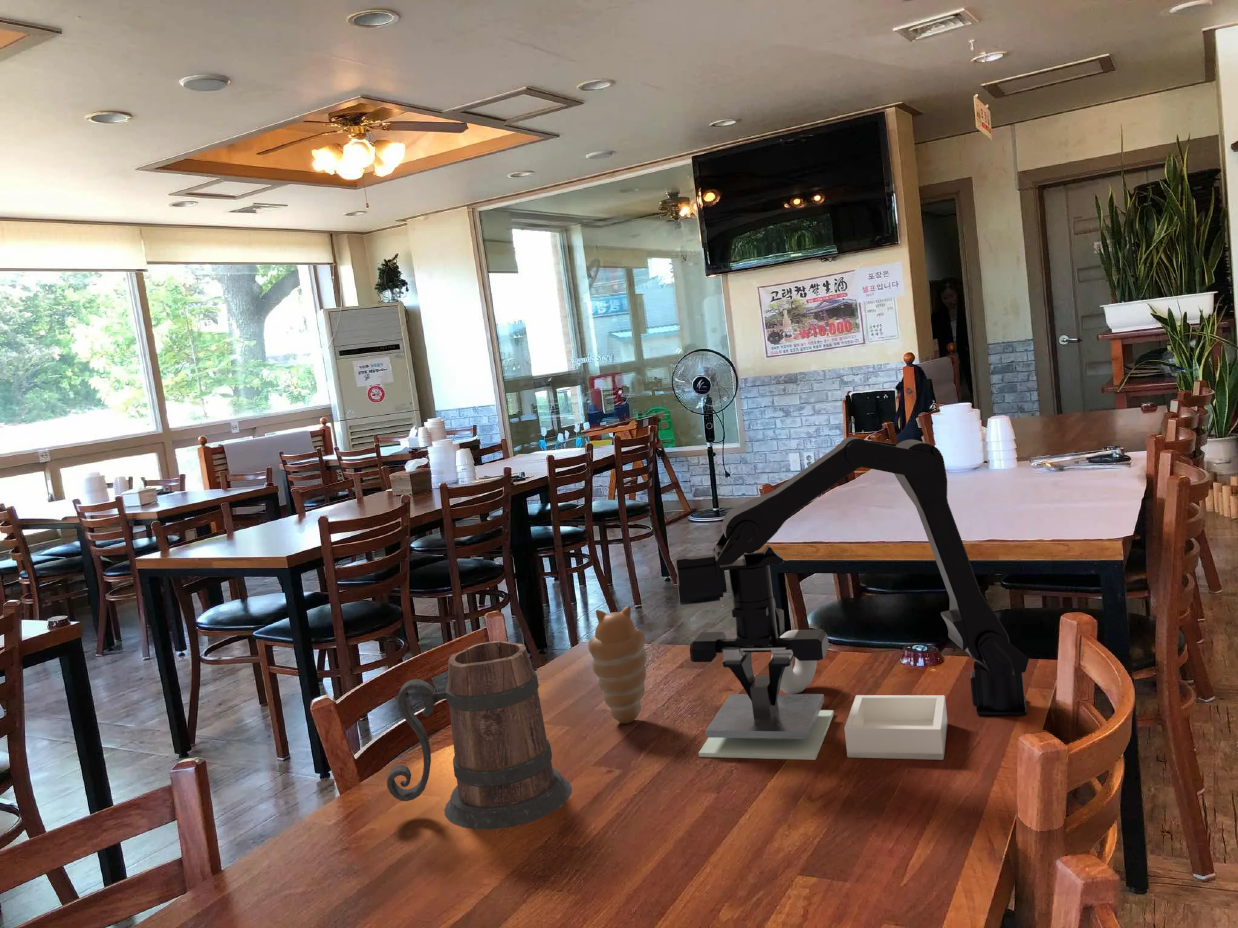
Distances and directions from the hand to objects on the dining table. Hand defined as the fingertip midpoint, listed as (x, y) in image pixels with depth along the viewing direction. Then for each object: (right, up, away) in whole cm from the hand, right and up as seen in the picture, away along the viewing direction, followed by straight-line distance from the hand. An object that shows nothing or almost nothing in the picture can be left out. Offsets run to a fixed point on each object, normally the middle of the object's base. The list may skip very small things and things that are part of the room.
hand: (765, 704), depth 140 cm
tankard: (-38, -11, -10) cm, 41 cm away
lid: (0, -2, 0) cm, 2 cm away
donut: (+7, -2, +16) cm, 18 cm away
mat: (+1, -4, 0) cm, 5 cm away
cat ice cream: (-19, -6, +12) cm, 24 cm away
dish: (+17, -3, -7) cm, 18 cm away
